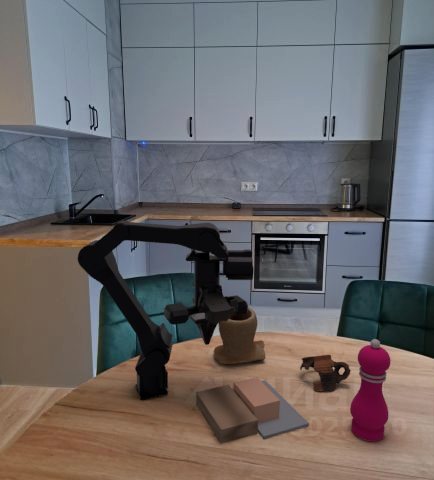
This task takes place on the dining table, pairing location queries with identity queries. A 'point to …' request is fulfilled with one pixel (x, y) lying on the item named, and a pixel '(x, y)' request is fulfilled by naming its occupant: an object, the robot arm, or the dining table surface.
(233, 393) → the ledge
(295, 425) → the mat
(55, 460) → the dining table surface
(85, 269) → the robot arm
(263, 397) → the salmon pink block
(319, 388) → the pottery mug
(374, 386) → the pepper mill
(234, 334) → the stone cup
